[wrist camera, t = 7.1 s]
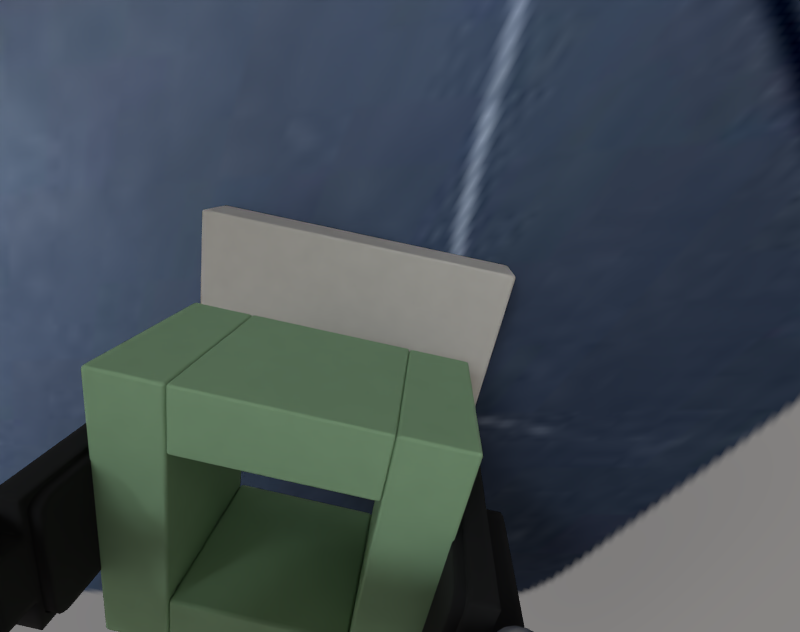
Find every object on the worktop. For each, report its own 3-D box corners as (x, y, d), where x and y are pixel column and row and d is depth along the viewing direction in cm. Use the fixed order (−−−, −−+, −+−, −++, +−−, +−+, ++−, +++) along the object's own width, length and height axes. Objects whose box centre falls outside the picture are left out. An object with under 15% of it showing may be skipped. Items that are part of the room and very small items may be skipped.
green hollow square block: (195, 301, 10) (78, 365, 7) (469, 361, 10) (484, 455, 7) (191, 509, 13) (104, 630, 9) (411, 559, 12) (401, 698, 9)
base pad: (224, 204, 14) (133, 221, 10) (508, 265, 14) (540, 308, 10) (215, 437, 17) (146, 524, 13) (440, 487, 17) (442, 588, 13)
